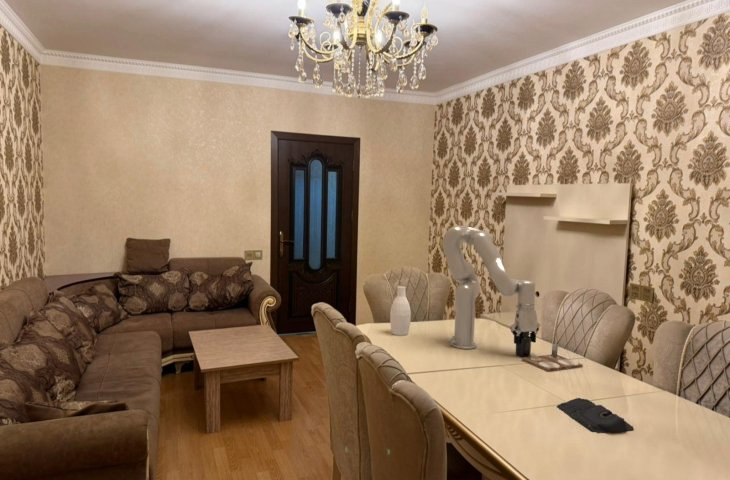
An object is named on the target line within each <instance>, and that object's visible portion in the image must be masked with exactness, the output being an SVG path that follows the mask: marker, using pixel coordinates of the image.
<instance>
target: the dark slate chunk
mask: <svg viewBox="0 0 730 480" xmlns="http://www.w3.org/2000/svg"><path fill="white" fill-rule="evenodd" d="M556 408H557V409H558V410H559V411H562V412H563V413H564V414H565V415H567V416H568V417H569V418H570V419H571V420H574V421H575V422H576V423H577V424H579V425H580V426H582V427H584V429H586V430H588V431H589V432H591V433H596V434H622V433H626V432H627V433H628V432H630V431H634V430H635V429H634V427H633V425H631V424H629V423H628V422H627V421H626V420H625V419H624V417H621V416H620V415H618V414H617V413H613V412H612V410H609V409H608V408H606V407H605V406H604V405H602V404H596V403H595V402H592V401H591V400H589V399H586V398H580V397H576V398H574V399H570V400H567V401H566V402H565V401H564V402H562V403H559V404H558V405H556Z"/></svg>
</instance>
